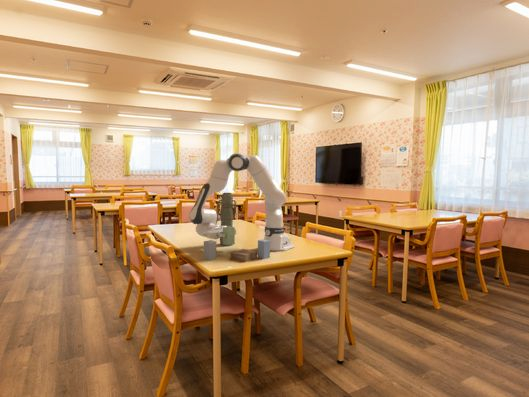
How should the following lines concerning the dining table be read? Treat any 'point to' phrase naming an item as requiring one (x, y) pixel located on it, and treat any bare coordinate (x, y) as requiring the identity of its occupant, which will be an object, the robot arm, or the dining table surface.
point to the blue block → (263, 249)
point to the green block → (229, 235)
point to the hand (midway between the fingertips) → (229, 234)
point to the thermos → (226, 212)
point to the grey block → (210, 250)
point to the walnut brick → (243, 255)
